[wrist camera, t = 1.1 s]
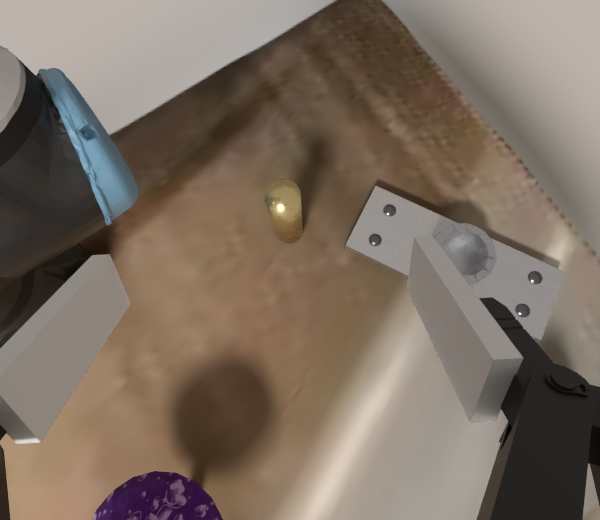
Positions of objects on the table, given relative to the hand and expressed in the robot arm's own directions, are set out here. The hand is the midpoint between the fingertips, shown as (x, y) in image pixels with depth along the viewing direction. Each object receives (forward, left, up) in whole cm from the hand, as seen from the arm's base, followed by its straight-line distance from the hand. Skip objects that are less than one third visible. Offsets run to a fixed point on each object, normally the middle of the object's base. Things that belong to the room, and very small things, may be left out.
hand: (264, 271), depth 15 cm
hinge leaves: (+15, +15, -27) cm, 34 cm away
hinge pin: (-5, +9, -27) cm, 29 cm away
